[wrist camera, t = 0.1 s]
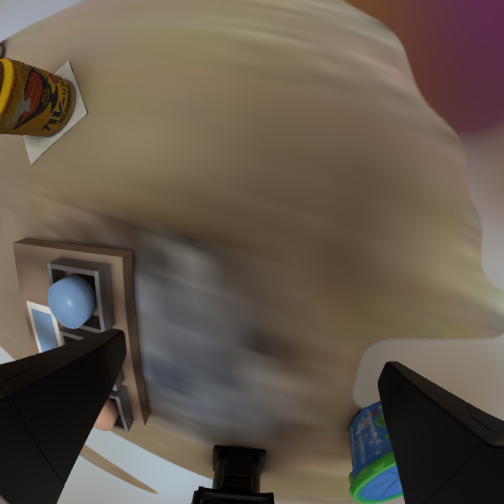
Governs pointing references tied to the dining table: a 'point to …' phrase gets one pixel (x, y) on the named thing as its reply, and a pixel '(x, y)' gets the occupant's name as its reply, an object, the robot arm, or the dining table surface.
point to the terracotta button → (107, 416)
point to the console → (105, 317)
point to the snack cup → (372, 459)
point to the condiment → (38, 104)
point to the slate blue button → (72, 301)
